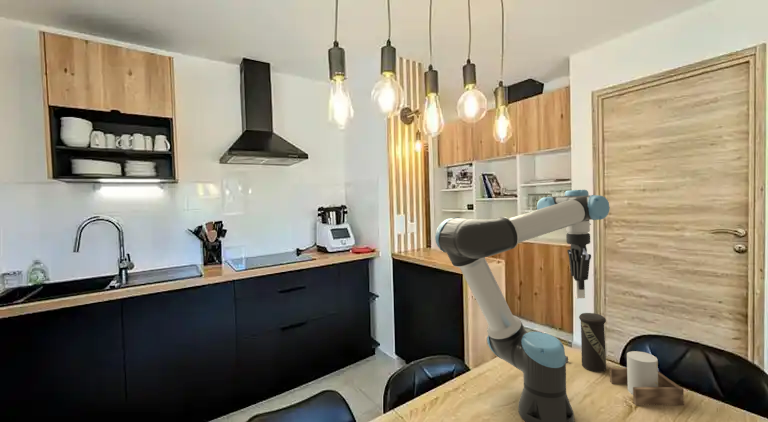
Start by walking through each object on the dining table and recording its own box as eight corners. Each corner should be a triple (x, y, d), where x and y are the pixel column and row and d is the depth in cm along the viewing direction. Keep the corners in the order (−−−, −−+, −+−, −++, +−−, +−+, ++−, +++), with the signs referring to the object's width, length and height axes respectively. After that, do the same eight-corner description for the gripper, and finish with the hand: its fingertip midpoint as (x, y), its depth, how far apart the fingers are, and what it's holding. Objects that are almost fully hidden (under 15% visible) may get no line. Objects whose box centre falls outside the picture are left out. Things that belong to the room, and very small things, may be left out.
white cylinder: (664, 400, 111) (663, 362, 111) (635, 398, 112) (634, 361, 112) (649, 386, 119) (648, 351, 119) (623, 385, 120) (622, 350, 120)
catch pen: (635, 405, 109) (635, 389, 109) (610, 381, 123) (609, 367, 123) (683, 405, 108) (683, 389, 108) (652, 381, 122) (652, 367, 122)
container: (583, 371, 131) (582, 318, 130) (578, 360, 140) (576, 310, 139) (610, 373, 128) (609, 319, 128) (603, 362, 137) (601, 311, 136)
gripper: (598, 234, 120) (600, 302, 121) (580, 230, 133) (582, 292, 134) (575, 235, 121) (577, 303, 121) (559, 231, 134) (561, 293, 134)
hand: (580, 297), depth 128 cm, fingers closed
